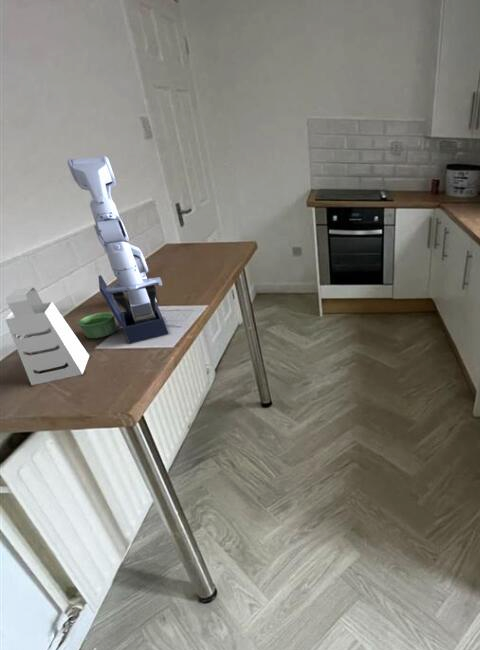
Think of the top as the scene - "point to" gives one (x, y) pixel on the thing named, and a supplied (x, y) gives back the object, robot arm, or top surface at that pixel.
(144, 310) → the phone
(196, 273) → the top surface
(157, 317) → the dark blue box
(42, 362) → the grater
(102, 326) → the ramekin
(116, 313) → the cover
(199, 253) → the top surface
